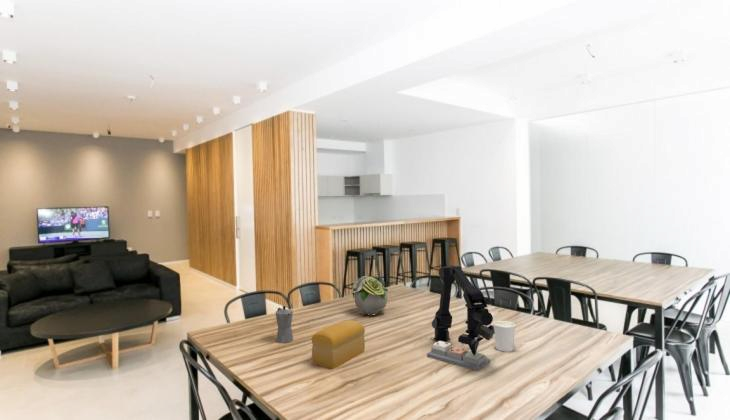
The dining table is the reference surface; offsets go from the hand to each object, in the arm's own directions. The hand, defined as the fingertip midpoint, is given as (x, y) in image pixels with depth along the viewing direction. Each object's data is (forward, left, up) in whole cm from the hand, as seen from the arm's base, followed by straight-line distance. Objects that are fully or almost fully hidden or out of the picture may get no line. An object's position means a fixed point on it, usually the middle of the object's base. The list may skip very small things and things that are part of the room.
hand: (474, 354), depth 173 cm
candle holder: (+3, +26, -4) cm, 27 cm away
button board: (-8, 0, -4) cm, 9 cm away
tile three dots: (-8, 0, -3) cm, 8 cm away
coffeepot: (-91, -34, -4) cm, 97 cm away
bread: (-52, -32, -5) cm, 61 cm away
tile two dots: (-16, 0, -2) cm, 16 cm away
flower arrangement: (-86, +31, -4) cm, 91 cm away
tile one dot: (0, 0, -3) cm, 3 cm away
